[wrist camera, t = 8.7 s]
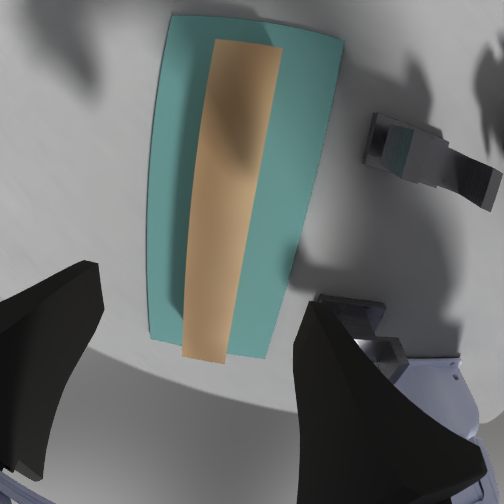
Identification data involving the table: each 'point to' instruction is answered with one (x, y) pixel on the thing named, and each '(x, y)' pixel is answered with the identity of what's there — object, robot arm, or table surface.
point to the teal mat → (269, 180)
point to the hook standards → (415, 170)
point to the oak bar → (225, 189)
